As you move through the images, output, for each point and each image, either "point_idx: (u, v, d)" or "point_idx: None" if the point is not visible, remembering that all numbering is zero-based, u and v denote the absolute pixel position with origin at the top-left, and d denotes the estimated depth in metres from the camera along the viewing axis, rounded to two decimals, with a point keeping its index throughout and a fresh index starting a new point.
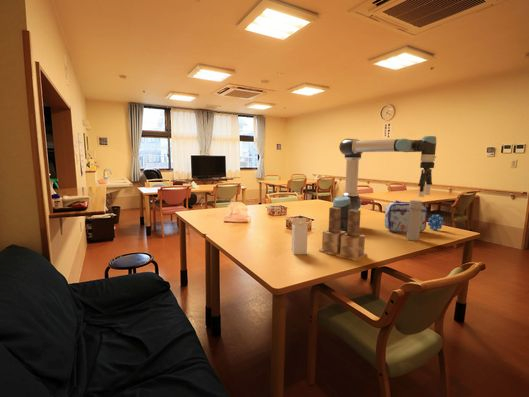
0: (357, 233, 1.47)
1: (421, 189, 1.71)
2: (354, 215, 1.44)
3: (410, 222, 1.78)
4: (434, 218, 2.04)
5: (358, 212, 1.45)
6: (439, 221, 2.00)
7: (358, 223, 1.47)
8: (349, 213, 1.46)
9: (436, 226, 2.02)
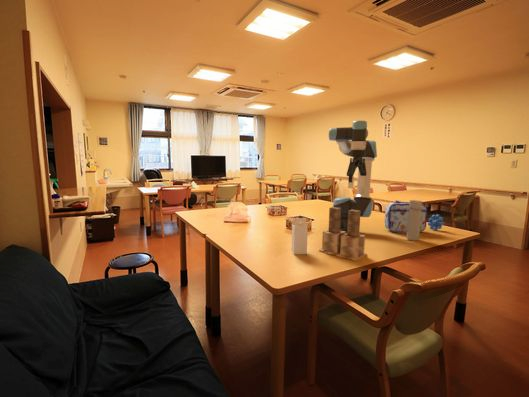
0: (357, 233, 1.47)
1: (349, 180, 1.54)
2: (354, 215, 1.44)
3: (410, 222, 1.78)
4: (434, 218, 2.04)
5: (358, 212, 1.45)
6: (439, 221, 2.00)
7: (358, 223, 1.47)
8: (349, 213, 1.46)
9: (436, 226, 2.02)
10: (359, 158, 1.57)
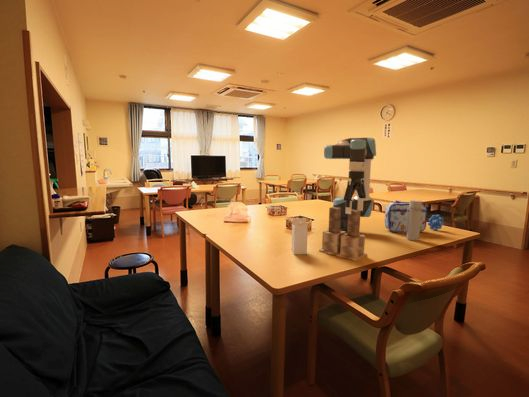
0: (357, 233, 1.47)
1: (347, 204, 1.40)
2: (354, 215, 1.44)
3: (410, 222, 1.78)
4: (434, 218, 2.04)
5: (358, 212, 1.45)
6: (439, 221, 2.00)
7: (358, 223, 1.47)
8: None
9: (436, 226, 2.02)
10: (357, 180, 1.43)
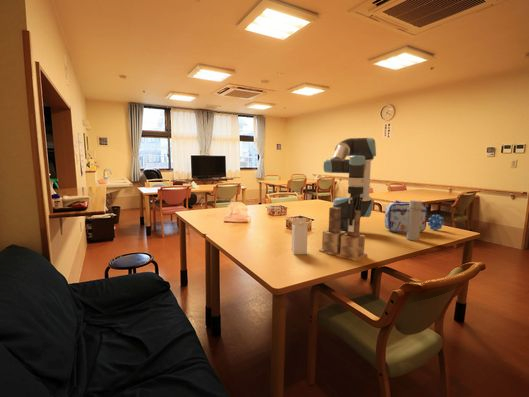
0: (357, 233, 1.47)
1: (350, 223, 1.44)
2: (354, 215, 1.44)
3: (410, 222, 1.78)
4: (434, 218, 2.04)
5: (358, 212, 1.45)
6: (439, 221, 2.00)
7: (358, 223, 1.47)
8: None
9: (436, 226, 2.02)
10: (357, 195, 1.45)
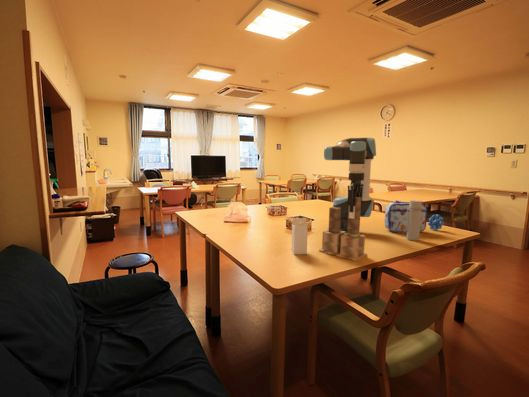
0: (357, 220, 1.46)
1: (350, 209, 1.43)
2: (355, 201, 1.43)
3: (410, 222, 1.78)
4: (434, 218, 2.04)
5: (358, 198, 1.44)
6: (439, 221, 2.00)
7: (359, 210, 1.46)
8: None
9: (436, 226, 2.02)
10: (357, 182, 1.44)
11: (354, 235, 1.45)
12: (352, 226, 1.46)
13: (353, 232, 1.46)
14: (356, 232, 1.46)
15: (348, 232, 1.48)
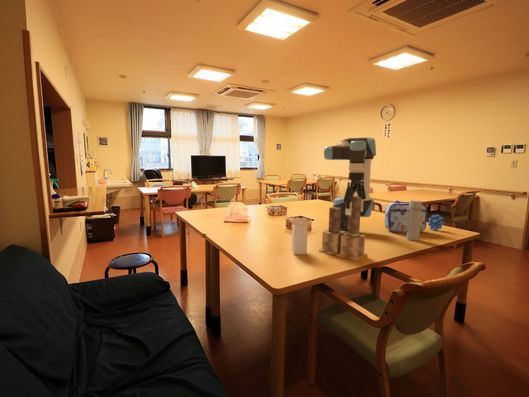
0: (357, 220, 1.46)
1: (347, 206, 1.40)
2: (355, 201, 1.43)
3: (410, 222, 1.78)
4: (434, 218, 2.04)
5: (358, 198, 1.44)
6: (439, 221, 2.00)
7: (359, 209, 1.46)
8: None
9: (436, 226, 2.02)
10: (357, 181, 1.44)
11: (354, 235, 1.45)
12: (352, 226, 1.46)
13: (353, 232, 1.46)
14: (356, 232, 1.46)
15: (348, 232, 1.48)
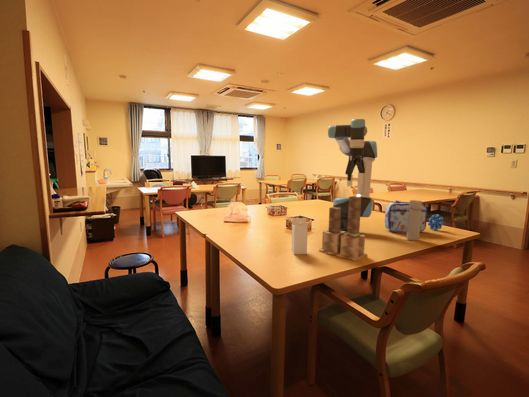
0: (357, 220, 1.46)
1: (348, 178, 1.56)
2: (355, 201, 1.43)
3: (410, 222, 1.78)
4: (434, 218, 2.04)
5: (358, 198, 1.44)
6: (439, 221, 2.00)
7: (359, 209, 1.46)
8: (350, 199, 1.45)
9: (436, 226, 2.02)
10: (358, 156, 1.59)
11: (354, 235, 1.45)
12: (352, 226, 1.46)
13: (353, 232, 1.46)
14: (356, 232, 1.46)
15: (348, 232, 1.48)
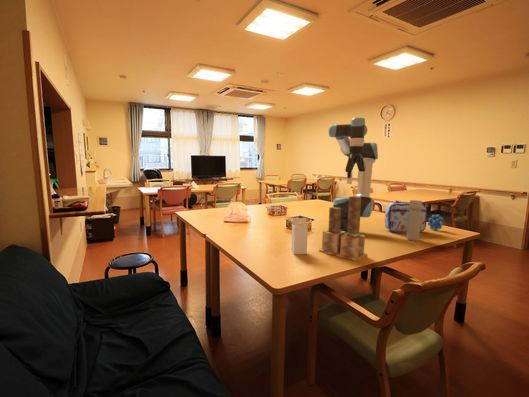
0: (357, 220, 1.46)
1: (348, 175, 1.58)
2: (355, 201, 1.43)
3: (410, 222, 1.78)
4: (434, 218, 2.04)
5: (358, 198, 1.44)
6: (439, 221, 2.00)
7: (359, 209, 1.46)
8: (350, 199, 1.45)
9: (436, 226, 2.02)
10: (357, 154, 1.62)
11: (354, 235, 1.45)
12: (352, 226, 1.46)
13: (353, 232, 1.46)
14: (356, 232, 1.46)
15: (348, 232, 1.48)
